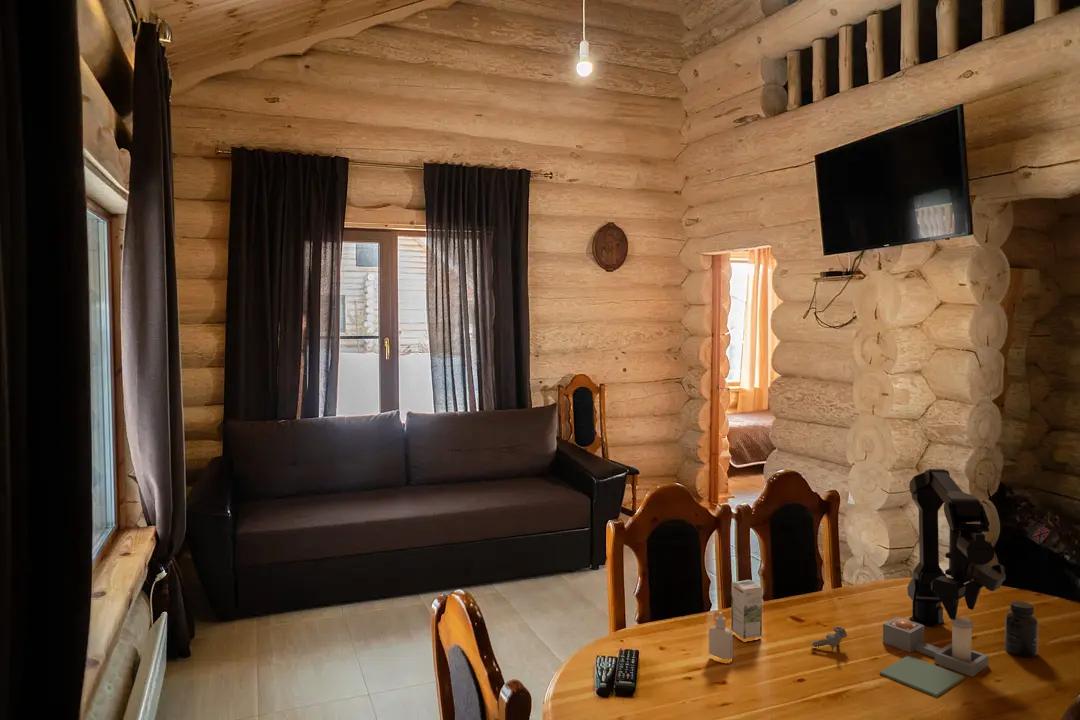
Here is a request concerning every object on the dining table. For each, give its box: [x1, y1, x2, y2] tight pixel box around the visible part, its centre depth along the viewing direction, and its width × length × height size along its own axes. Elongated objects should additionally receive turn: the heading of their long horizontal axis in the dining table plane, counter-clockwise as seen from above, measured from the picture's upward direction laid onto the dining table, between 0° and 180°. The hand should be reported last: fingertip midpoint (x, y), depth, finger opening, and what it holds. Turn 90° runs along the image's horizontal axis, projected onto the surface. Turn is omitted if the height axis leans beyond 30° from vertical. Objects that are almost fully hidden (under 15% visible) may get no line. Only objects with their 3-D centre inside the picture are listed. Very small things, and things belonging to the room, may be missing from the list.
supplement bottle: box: [1004, 600, 1039, 658], centre depth 180 cm, size 7×7×12 cm
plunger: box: [891, 618, 917, 631], centre depth 186 cm, size 4×4×6 cm
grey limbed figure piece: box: [810, 624, 848, 652], centre depth 184 cm, size 10×6×9 cm
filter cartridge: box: [950, 616, 974, 663], centre depth 175 cm, size 5×5×11 cm
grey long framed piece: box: [882, 616, 989, 677], centre depth 180 cm, size 22×8×5 cm, turn 36°
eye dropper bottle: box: [708, 611, 734, 660], centre depth 179 cm, size 4×6×12 cm
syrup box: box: [730, 579, 763, 639], centre depth 191 cm, size 6×6×14 cm
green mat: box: [879, 655, 965, 698], centre depth 170 cm, size 13×13×1 cm
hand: (961, 614), depth 174 cm, fingers open, 9 cm apart
